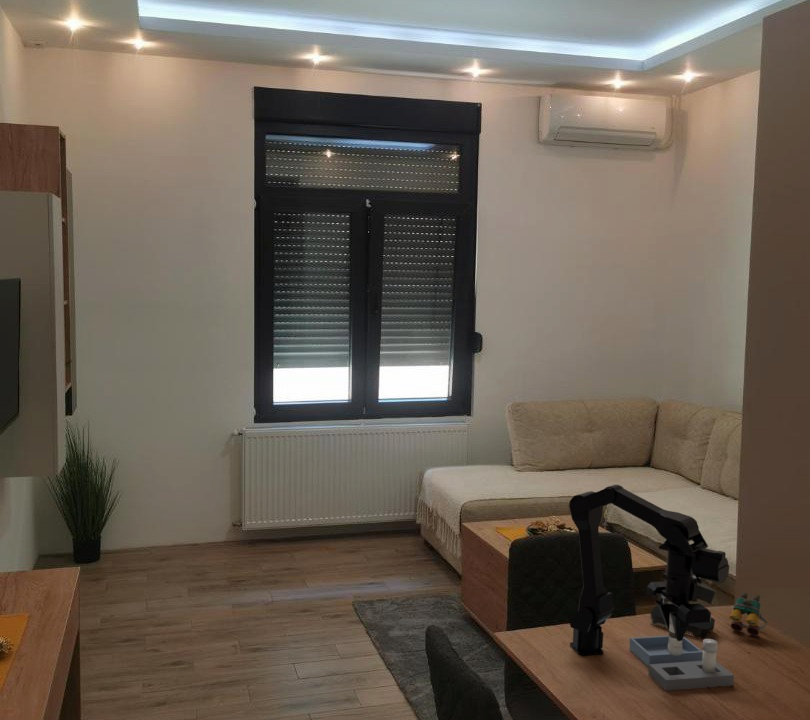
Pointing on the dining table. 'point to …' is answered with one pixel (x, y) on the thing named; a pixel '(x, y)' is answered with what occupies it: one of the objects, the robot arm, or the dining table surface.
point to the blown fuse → (673, 640)
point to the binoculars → (752, 611)
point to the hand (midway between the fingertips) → (675, 637)
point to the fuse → (709, 655)
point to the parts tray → (663, 650)
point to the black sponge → (694, 628)
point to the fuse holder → (689, 675)
